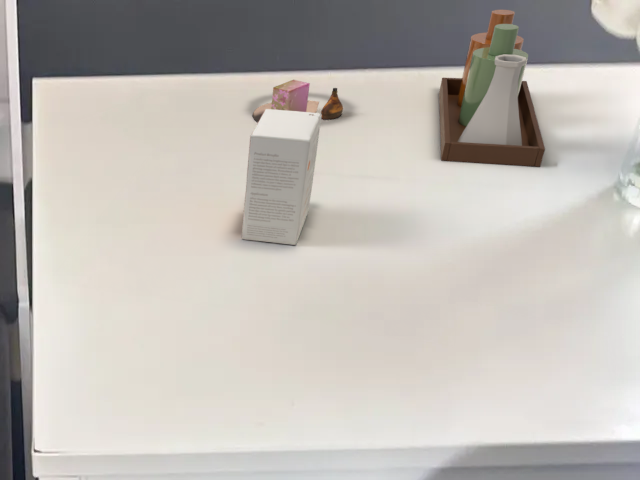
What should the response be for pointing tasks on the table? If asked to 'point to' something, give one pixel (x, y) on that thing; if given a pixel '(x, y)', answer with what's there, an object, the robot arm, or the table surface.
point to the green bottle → (488, 69)
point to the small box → (280, 175)
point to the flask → (498, 107)
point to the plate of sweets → (299, 101)
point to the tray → (488, 153)
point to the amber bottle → (486, 43)
